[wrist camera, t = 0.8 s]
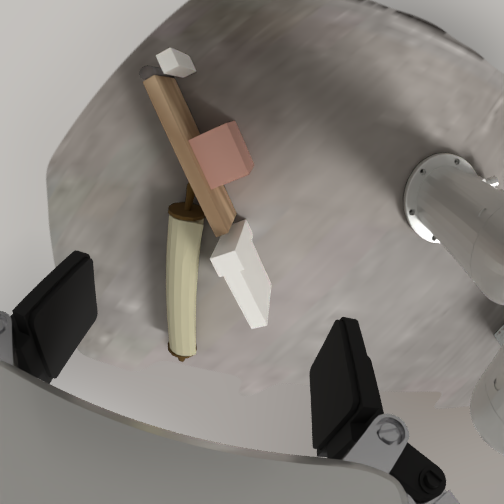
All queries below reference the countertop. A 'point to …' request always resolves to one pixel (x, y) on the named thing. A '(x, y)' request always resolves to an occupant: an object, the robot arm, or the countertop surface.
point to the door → (187, 146)
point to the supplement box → (500, 335)
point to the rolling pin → (183, 274)
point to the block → (222, 154)
